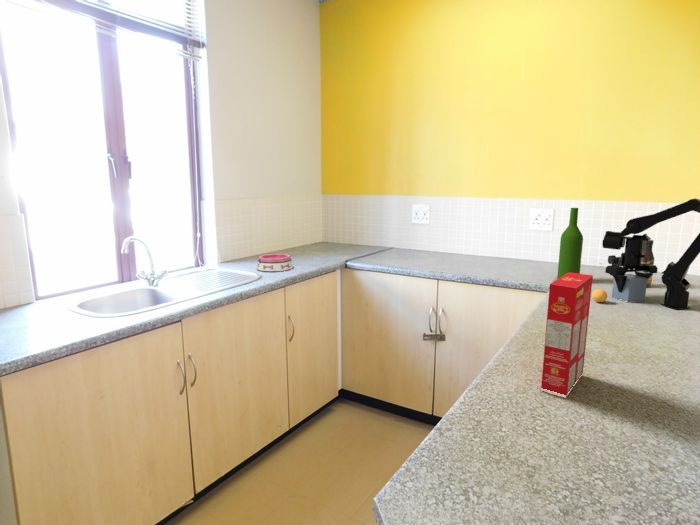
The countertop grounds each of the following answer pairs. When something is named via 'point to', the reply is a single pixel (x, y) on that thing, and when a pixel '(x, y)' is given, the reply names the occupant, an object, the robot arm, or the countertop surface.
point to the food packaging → (566, 331)
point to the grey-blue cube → (631, 289)
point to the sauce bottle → (648, 257)
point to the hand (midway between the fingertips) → (628, 291)
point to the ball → (599, 295)
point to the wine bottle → (570, 247)
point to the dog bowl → (274, 263)
